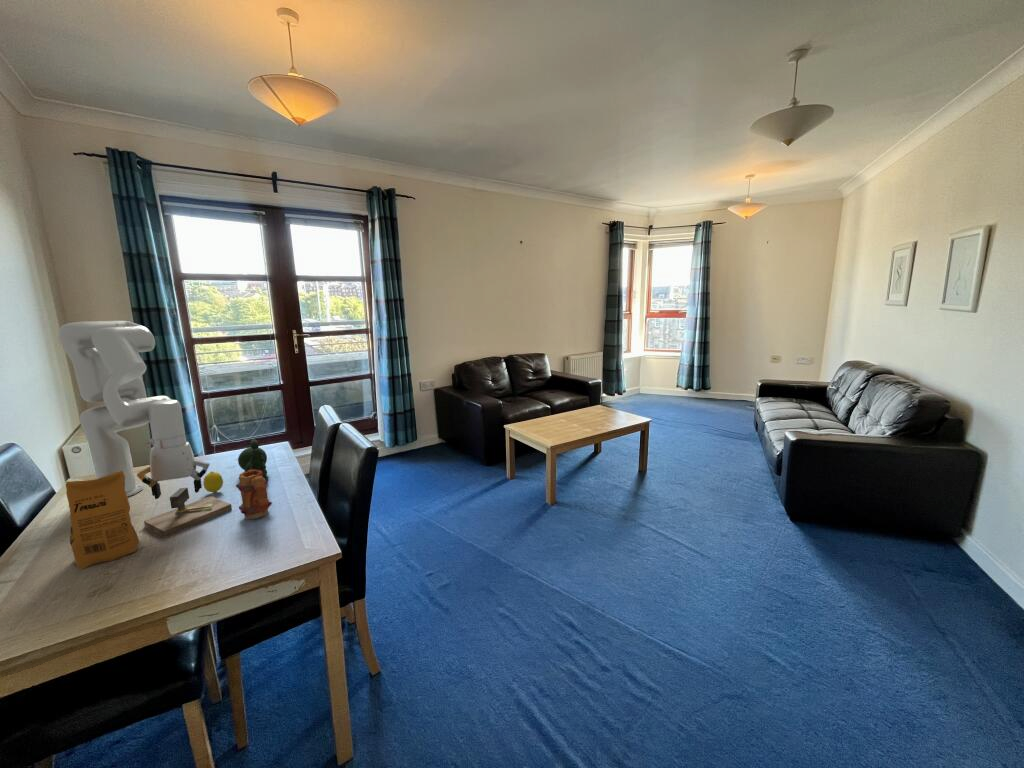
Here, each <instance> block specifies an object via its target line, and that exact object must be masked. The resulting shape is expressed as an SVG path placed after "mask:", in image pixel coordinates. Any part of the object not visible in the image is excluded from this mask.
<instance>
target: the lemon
mask: <svg viewBox="0 0 1024 768" xmlns="http://www.w3.org/2000/svg"><path fill="white" fill-rule="evenodd" d="M202 483H203V488H204V490H206V492H209V493H213V494H215V493H217V492H218V491H220V490H221V488H223V484H224V479H223V476H222V474H220V473H219V472H218V471H217V472H216V471H210V472H209V473H207V474H206V475H205V476H204V478H203V482H202Z"/></svg>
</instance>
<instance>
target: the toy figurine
mask: <svg viewBox="0 0 1024 768" xmlns="http://www.w3.org/2000/svg"><path fill="white" fill-rule="evenodd" d="M249 442H250V443H249V444H250V447H247V448H244V449H243V450H242V451H241V452H240V454H239V455H238V457H237V463H238V466H239V467H240V468H241V469H242V470H243V471H245V472H247V471H248V470H261V471H262V472H263V478H265V479H266V481H267V482H268V483H269V476H268V475H267V474H268V471H267V469H266V468H267V466H266V463H267V462H268V461H267V460H268V456H267V453H266V451H265V450H263V449H262V448H261V447H260V443H259V442H258V440H257V439H255V438H254V439H251V440H250V441H249Z"/></svg>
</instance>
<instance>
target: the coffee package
mask: <svg viewBox="0 0 1024 768" xmlns="http://www.w3.org/2000/svg"><path fill="white" fill-rule="evenodd" d="M65 489H66V490H65V491H66V498H67V502H68V508H69V513H70V514H69V520H70V524H71V525H70V533H69V543H70V545H71V550H72V554H73V557H74V563H75V565H76V566H77V568H79V569H85V568H88V567H90V566H92V565H96V564H97V563H102V562H103V563H104V562H105V563H106V562H111V561H114V560H117V559H120V558H122V557H124V556H127V555H129V554H132V553H135V552H136V551H137V550H138V548H139V547H138V546H139V542H140V539H139V536H138V534H137V531H136V530H135V528H134V526H133V524H132V521H131V515H130V512H131V511H130V510H131V506H130V502H129V499H128V497H127V494H126V492H125V476H124V473H123V471H120V472H116V473H113V474H110V475H107V476H104V477H101V478H98V479H96V478H94V479H87V480H73V481H66V482H65Z"/></svg>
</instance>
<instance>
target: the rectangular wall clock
mask: <svg viewBox="0 0 1024 768" xmlns="http://www.w3.org/2000/svg"><path fill="white" fill-rule="evenodd" d="M209 505H212V508H207V509H198V510H189V511H185V512H183V513H177V512H176V510H177V509H178V508H173V510H172V509H171V510H169V511H167V512H164V513H161V514H159V515H155V516H154V517H150V518H148V519H145V520H143V524H144V528H146V529H147V530H150V531H151V532H154V533H156V534H158V535H159V536H162V537H163V538H167V537H170V536H173V535H175V534H177V533H179V532H182V531H184V530H187V529H190V528H191V527H194V526H196V525H198V524H201V523H204V522H206V521H208V520H211V519H213V518H216V517H218V516H221V515H222V514H225V513H228V512H231V511H232V510H233V507H232V504H231V503H230V502H227V501H224V500H222V499H219V498H217V497H214V496H211V495H210V496H207V497H204V498H202V499H199V500H196V501H193V502H192V503H188V504H185V507H187V508H191V507H200V506H209Z"/></svg>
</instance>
